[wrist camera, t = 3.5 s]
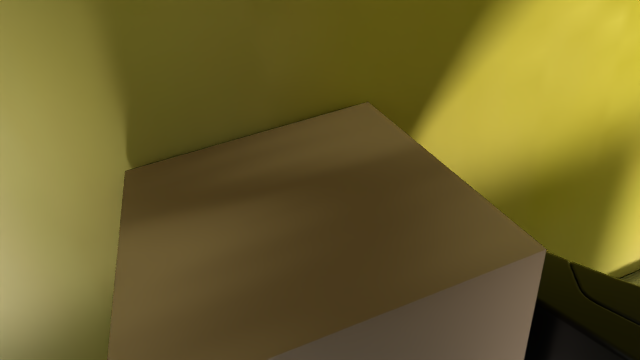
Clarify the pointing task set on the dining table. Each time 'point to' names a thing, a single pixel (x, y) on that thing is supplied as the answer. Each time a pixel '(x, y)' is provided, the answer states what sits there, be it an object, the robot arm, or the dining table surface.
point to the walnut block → (318, 253)
